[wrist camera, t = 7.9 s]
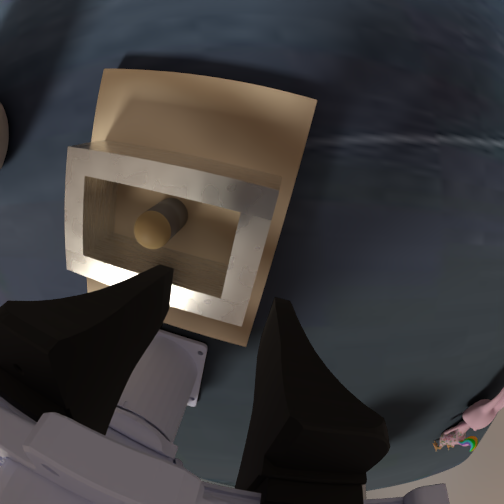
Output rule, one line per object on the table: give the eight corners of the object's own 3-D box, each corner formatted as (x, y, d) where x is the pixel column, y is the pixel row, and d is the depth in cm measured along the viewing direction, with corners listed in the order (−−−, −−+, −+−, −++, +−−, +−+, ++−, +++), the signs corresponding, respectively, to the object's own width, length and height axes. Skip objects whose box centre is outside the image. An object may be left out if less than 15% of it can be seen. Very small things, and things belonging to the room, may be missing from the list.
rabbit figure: (454, 431, 30) (522, 369, 22) (459, 465, 25) (536, 409, 17) (422, 433, 30) (492, 369, 22) (426, 470, 25) (507, 415, 17)
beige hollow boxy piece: (250, 291, 21) (241, 326, 17) (97, 246, 21) (66, 269, 17) (282, 176, 17) (279, 190, 14) (105, 139, 18) (67, 146, 14)
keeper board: (248, 334, 24) (237, 385, 19) (96, 286, 24) (61, 321, 19) (315, 102, 17) (325, 91, 11) (115, 71, 17) (66, 61, 12)
